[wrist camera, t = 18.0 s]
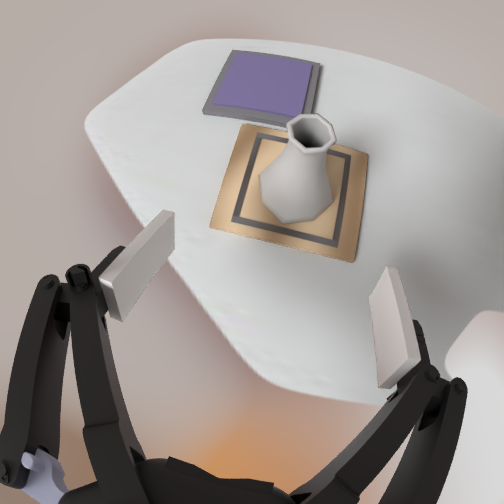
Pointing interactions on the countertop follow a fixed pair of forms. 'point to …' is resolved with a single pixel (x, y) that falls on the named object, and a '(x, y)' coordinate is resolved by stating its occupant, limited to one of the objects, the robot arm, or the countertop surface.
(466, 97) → the countertop surface
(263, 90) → the ink pad
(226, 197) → the marked board
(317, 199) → the flask
